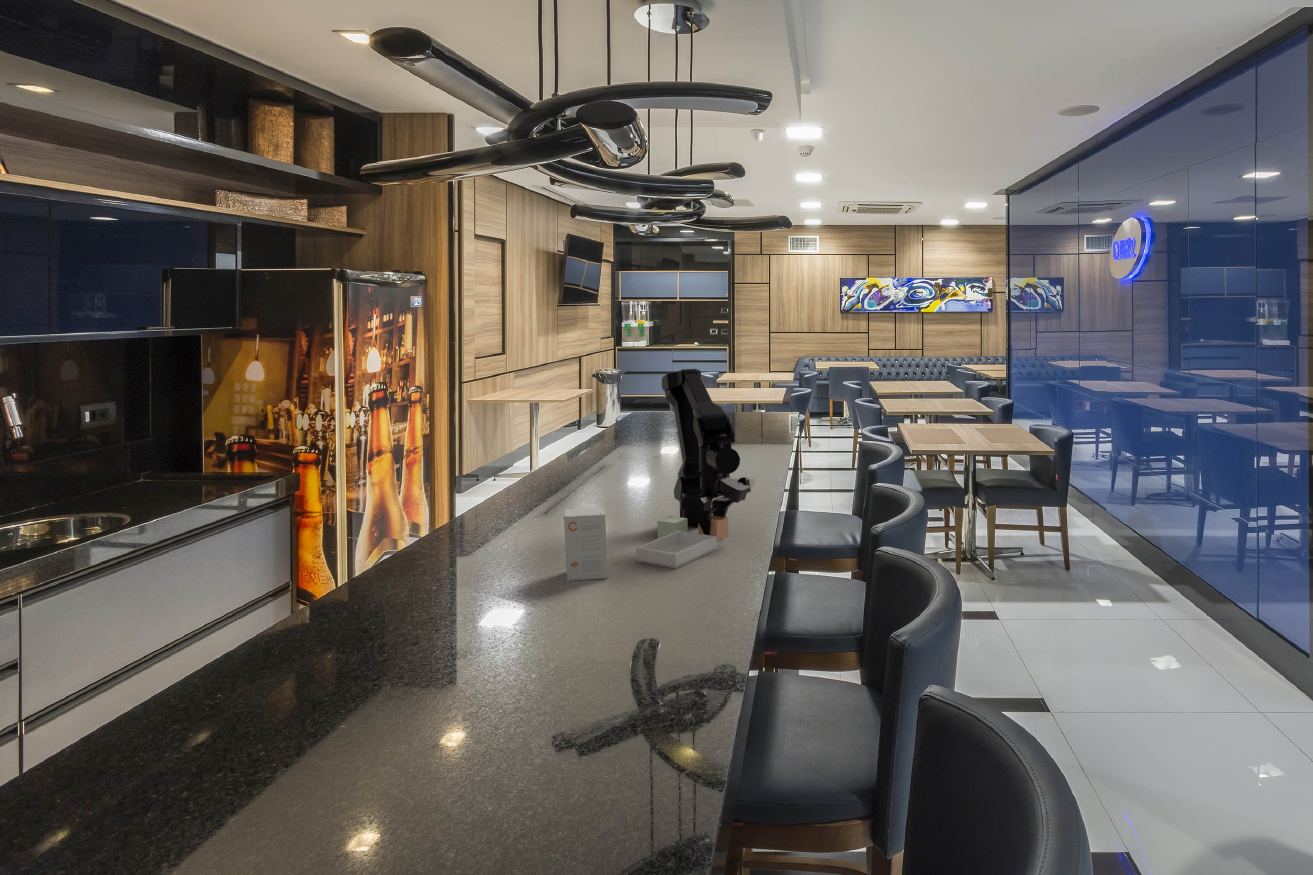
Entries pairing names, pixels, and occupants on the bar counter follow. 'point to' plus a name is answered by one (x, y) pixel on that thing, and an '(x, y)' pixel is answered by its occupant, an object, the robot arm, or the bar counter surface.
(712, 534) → the brick
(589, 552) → the small box
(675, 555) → the tote
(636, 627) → the bar counter surface
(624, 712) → the bar counter surface
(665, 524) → the pale green block
